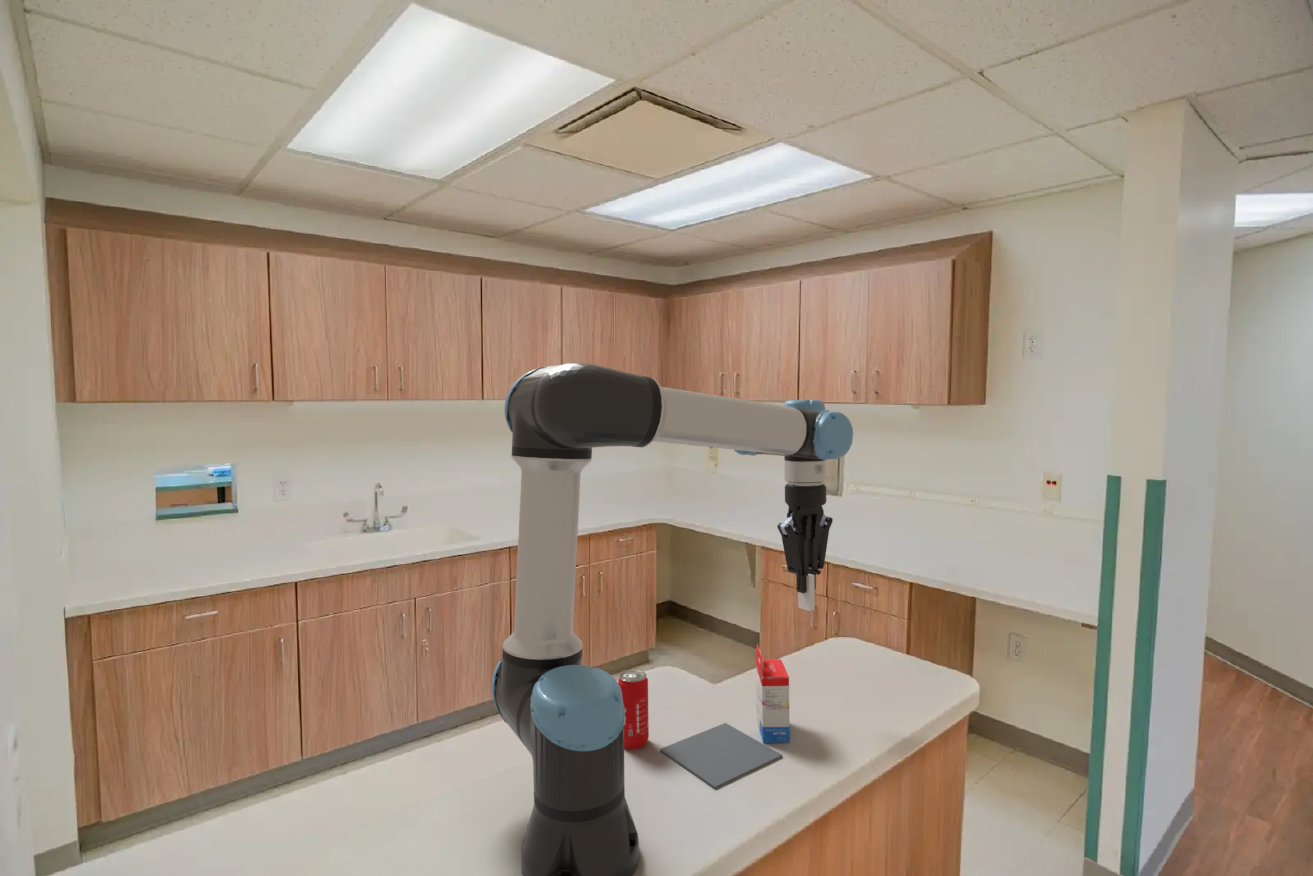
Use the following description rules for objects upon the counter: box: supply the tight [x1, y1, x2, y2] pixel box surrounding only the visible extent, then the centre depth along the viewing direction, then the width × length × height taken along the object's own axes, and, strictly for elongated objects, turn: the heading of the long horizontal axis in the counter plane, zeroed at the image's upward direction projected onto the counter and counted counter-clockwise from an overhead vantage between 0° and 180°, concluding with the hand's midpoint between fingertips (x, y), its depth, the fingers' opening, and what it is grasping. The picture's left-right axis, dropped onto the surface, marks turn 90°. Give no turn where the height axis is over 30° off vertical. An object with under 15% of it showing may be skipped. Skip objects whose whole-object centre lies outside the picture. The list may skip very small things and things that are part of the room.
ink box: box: [755, 644, 791, 744], centre depth 116 cm, size 8×5×15 cm, turn 179°
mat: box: [659, 722, 783, 790], centre depth 109 cm, size 15×14×1 cm
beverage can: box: [617, 669, 650, 751], centre depth 113 cm, size 5×5×12 cm
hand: (806, 608), depth 121 cm, fingers closed
